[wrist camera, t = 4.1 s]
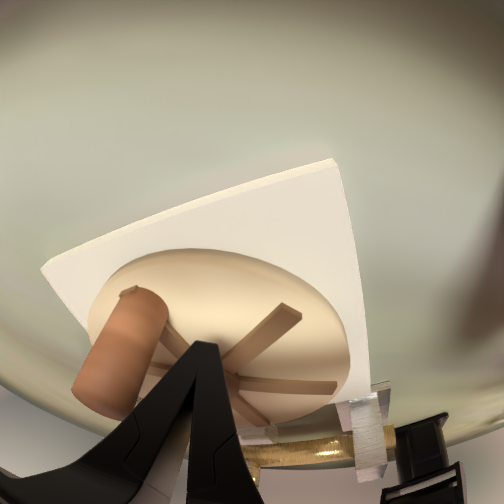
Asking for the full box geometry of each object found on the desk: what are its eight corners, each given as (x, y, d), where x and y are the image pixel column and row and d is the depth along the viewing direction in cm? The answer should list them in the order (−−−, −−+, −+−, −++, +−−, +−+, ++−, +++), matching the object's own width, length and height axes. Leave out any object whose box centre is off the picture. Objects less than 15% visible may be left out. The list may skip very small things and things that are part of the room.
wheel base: (368, 383, 17) (370, 395, 16) (175, 404, 20) (173, 414, 19) (332, 158, 9) (337, 165, 8) (49, 259, 13) (40, 269, 12)
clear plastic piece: (385, 416, 20) (394, 475, 15) (252, 436, 23) (247, 491, 18) (389, 381, 16) (403, 458, 11) (221, 406, 20) (210, 476, 15)
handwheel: (366, 388, 15) (377, 473, 10) (188, 416, 19) (174, 482, 14) (287, 192, 9) (296, 337, 4) (57, 297, 13) (5, 376, 8)
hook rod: (391, 428, 17) (400, 512, 11) (244, 448, 20) (236, 525, 14) (392, 420, 16) (404, 511, 10) (235, 441, 19) (225, 524, 13)
